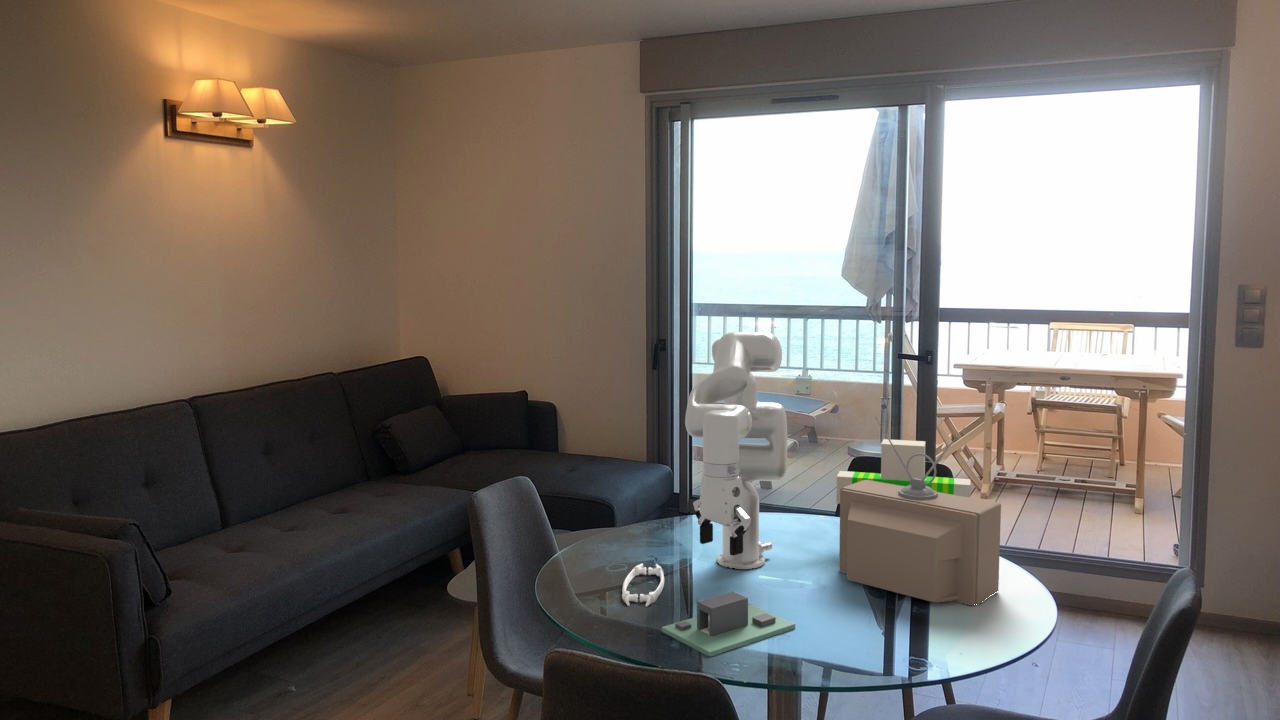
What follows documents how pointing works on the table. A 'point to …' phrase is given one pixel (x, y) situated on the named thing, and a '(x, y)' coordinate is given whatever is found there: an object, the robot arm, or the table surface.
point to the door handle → (643, 598)
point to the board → (729, 632)
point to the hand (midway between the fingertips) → (721, 548)
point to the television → (920, 539)
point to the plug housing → (722, 613)
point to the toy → (897, 474)
